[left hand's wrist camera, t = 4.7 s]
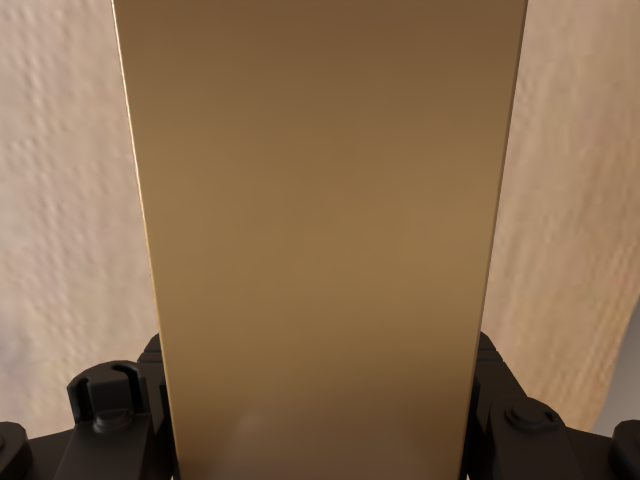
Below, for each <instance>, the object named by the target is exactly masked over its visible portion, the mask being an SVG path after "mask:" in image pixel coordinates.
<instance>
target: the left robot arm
mask: <svg viewBox="0 0 640 480" xmlns="http://www.w3.org/2000/svg"><path fill="white" fill-rule="evenodd" d="M67 391H68V395H69V400H70V404H71V408H72V412H73V416H74V420H75V427H74V429H70V430H67V431H64V432H60V433H56V434H51V435H47V436H43V437H38V438H34V439H29V440H28V437H27V434H26V430H25V429H24V428H23V427H22V426H21V425H20V424H18V423H13V422H0V480H171V478H172V475H173V480H180V474H179V467H178V460H177V453H176V447H175V440H174V433H173V426H172V419H171V412H170V405H169V398H168V391H167V385H166V378H165V371H164V364H163V357H162V350H161V343H160V336H159V333H158V334H156V335H155V336H154V337H152V339H151V340H150V342H149V343H148V345H147V346H146V348H145V349H144V353H142V354H141V355H140V357H139V359H138V360H137V363H135V362H132V361H128V360H122V361H110V362H106V363H101V364H98V365H96V366H94V367H91V368H89V369H87V370H85V371H83V372H82V373H80V374H79V375H78V376H76V377H75V378H74V379H73V380H72V381H71V382H70V384H69V385H68V386H67ZM467 474H468V476H469V479H470V480H640V420H628V421H622V422H621V423H619V424H618V425H617V426H616V427H615V429H614V432H613V436H612V438H610V437H605V436H601V435H597V434H592V433H588V432H584V431H579V430H576V429H572V428H569V427H566V426H565V424H564V422H563V421H562V419H561V418H560V416H559V415H558V414H557V413H556V412H555V411H554V410H552V409H551V408H550V407H549V406H548V405H546V404H544V403H542V402H540V401H538V400H536V399H534V398H530V397H527V395H526V394H525V392H524V391H523V389H522V388H521V386H520V385H519V383H518V381H517V380H516V378H515V377H514V375H513V374H512V372H511V371H510V369H509V368H508V366H507V365H506V363H505V362H503V359H502V357H501V356H500V354H499V353H498V351H496V348H495V346H494V345H493V343H492V342H491V340H490V339H489V337H488V336H487V335H485V334H484V333H483V332H481V331H480V337H479V344H478V351H477V358H476V365H475V372H474V379H473V385H472V392H471V399H470V406H469V413H468V420H467V427H466V434H465V441H464V448H463V455H462V462H461V468H460V475H459V480H466V479H467Z"/></svg>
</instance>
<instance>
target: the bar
mask: <svg viewBox="0 0 640 480" xmlns="http://www.w3.org/2000/svg"><path fill="white" fill-rule="evenodd" d="M111 5H112V12H113V19H114V26H115V33H116V40H117V47H118V54H119V60H120V67H121V74H122V81H123V88H124V95H125V102H126V109H127V116H128V122H129V129H130V136H131V143H132V150H133V157H134V164H135V171H136V178H137V185H138V191H139V198H140V205H141V212H142V219H143V226H144V233H145V240H146V247H147V253H148V260H149V267H150V274H151V281H152V288H153V295H154V302H155V309H156V316H157V322H158V329H159V336H160V343H161V350H162V357H163V364H164V371H165V378H166V385H167V391H168V398H169V405H170V412H171V419H172V426H173V433H174V440H175V447H176V453H177V460H178V467H179V474H180V480H459V475H460V468H461V462H462V455H463V448H464V441H465V434H466V427H467V420H468V413H469V406H470V399H471V392H472V385H473V379H474V372H475V365H476V358H477V351H478V344H479V337H480V330H481V323H482V316H483V309H484V302H485V296H486V289H487V282H488V275H489V268H490V261H491V254H492V247H493V240H494V233H495V226H496V219H497V213H498V206H499V199H500V192H501V185H502V178H503V171H504V164H505V157H506V150H507V143H508V137H509V130H510V123H511V116H512V109H513V102H514V95H515V88H516V81H517V74H518V67H519V60H520V54H521V47H522V40H523V33H524V26H525V19H526V12H527V5H528V0H111Z"/></svg>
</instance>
